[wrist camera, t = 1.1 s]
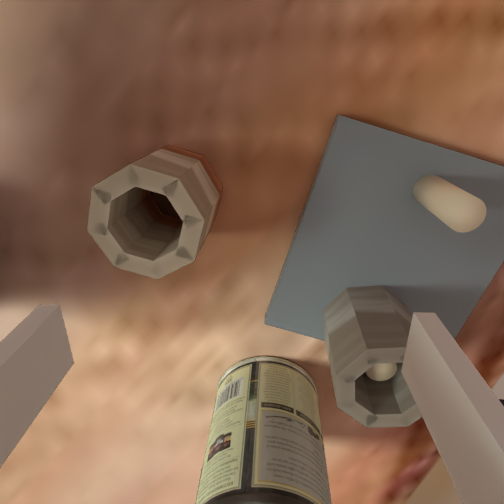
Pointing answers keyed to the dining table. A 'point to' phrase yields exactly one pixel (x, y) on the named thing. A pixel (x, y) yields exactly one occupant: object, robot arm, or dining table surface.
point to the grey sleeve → (369, 355)
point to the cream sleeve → (155, 212)
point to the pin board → (392, 230)
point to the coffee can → (265, 438)
